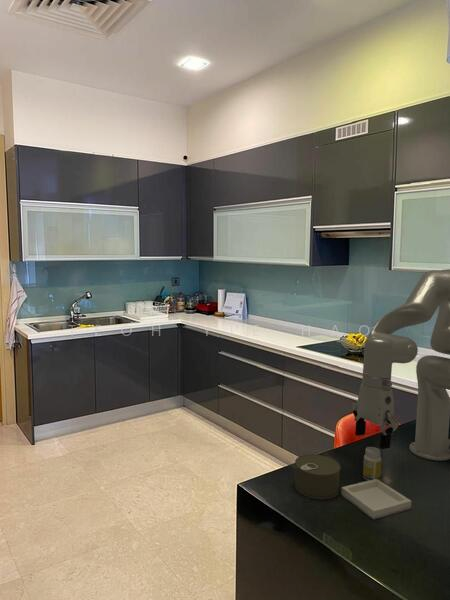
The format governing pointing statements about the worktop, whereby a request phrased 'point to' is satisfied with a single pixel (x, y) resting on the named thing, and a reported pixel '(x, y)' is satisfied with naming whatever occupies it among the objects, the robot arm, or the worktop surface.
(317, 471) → the can
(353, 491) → the tray
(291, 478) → the worktop surface
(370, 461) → the supplement bottle
